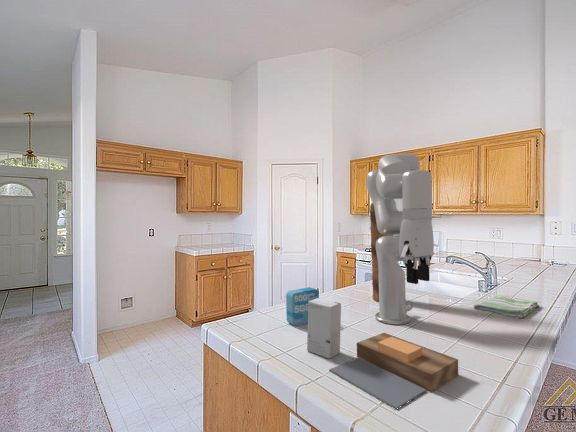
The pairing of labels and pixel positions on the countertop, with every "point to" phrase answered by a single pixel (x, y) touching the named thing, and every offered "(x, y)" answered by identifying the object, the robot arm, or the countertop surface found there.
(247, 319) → the countertop surface
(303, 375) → the countertop surface
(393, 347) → the tan foam pad
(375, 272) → the brown wooden post
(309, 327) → the skincare box
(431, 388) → the brown wooden block
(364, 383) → the mat
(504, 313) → the dish towel
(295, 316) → the data package
